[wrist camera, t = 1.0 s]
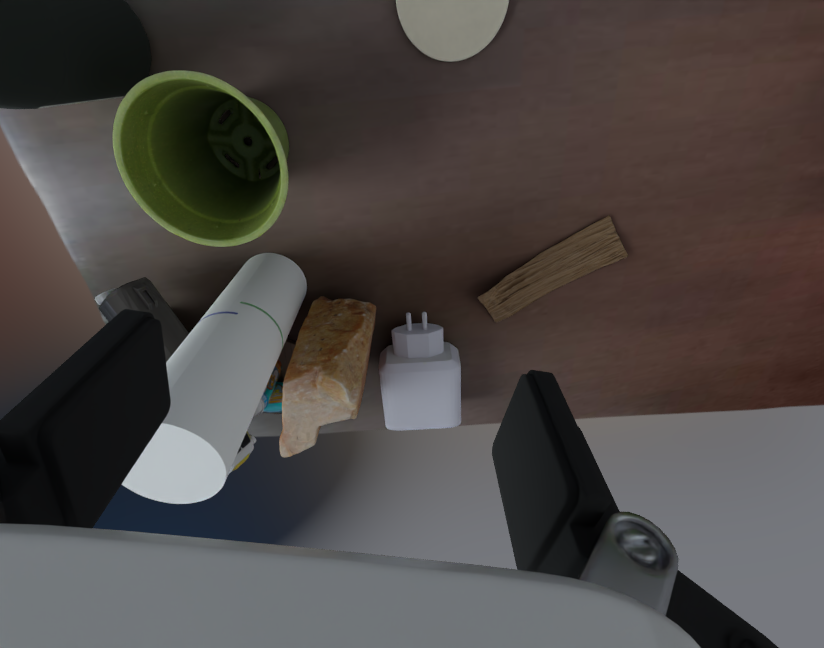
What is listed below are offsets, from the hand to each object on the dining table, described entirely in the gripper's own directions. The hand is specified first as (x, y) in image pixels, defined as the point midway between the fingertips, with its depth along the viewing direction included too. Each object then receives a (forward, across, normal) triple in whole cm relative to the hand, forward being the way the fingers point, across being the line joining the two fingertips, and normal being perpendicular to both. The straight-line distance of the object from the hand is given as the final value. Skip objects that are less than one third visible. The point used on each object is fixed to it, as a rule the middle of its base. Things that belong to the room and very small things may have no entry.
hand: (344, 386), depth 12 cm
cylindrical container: (+34, +10, +16) cm, 39 cm away
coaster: (+34, -3, -12) cm, 37 cm away
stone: (+34, +2, +21) cm, 40 cm away
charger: (+34, -8, +22) cm, 42 cm away
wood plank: (+33, -17, +7) cm, 38 cm away
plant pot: (+34, +12, +2) cm, 37 cm away
